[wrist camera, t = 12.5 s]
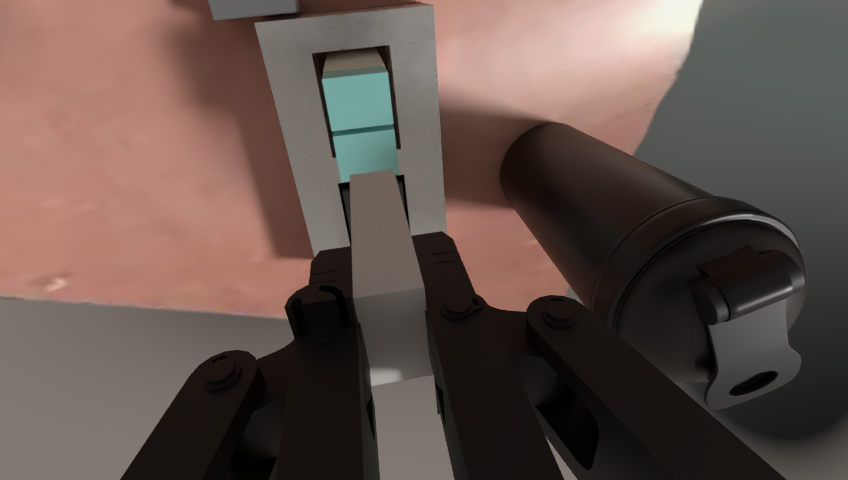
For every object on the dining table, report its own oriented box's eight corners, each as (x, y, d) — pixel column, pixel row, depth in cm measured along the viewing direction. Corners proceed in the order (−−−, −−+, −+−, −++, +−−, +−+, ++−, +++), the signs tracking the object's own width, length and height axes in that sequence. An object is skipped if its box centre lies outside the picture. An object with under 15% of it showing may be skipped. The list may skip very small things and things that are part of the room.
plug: (327, 52, 31) (321, 78, 22) (375, 47, 31) (387, 71, 23) (341, 133, 34) (341, 183, 25) (385, 128, 34) (399, 175, 26)
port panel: (264, 18, 29) (251, 24, 25) (423, 2, 30) (436, 5, 26) (323, 259, 40) (321, 292, 35) (439, 241, 41) (451, 272, 36)
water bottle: (507, 236, 41) (657, 454, 21) (476, 141, 36) (635, 311, 16) (606, 195, 41) (853, 379, 21) (589, 92, 36) (895, 207, 16)
